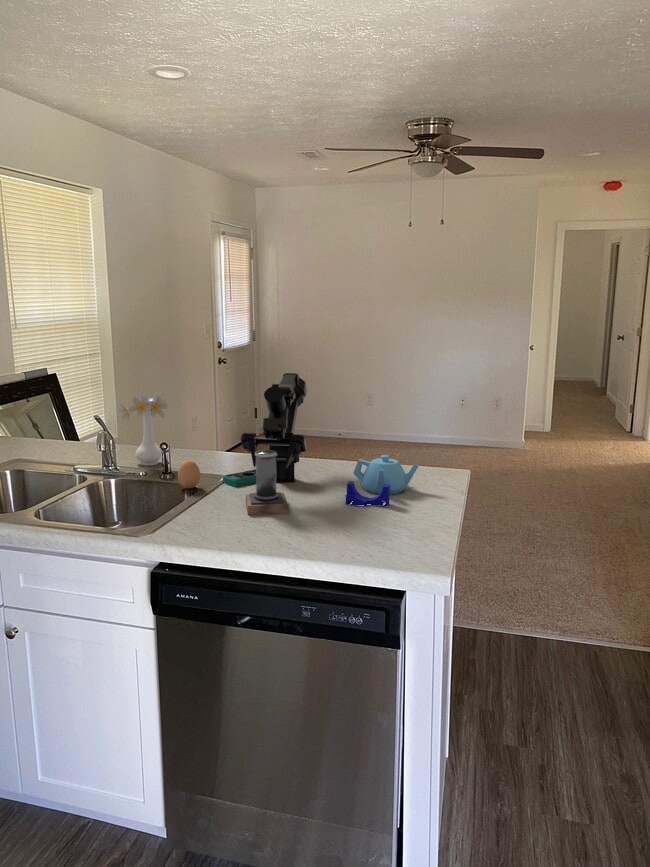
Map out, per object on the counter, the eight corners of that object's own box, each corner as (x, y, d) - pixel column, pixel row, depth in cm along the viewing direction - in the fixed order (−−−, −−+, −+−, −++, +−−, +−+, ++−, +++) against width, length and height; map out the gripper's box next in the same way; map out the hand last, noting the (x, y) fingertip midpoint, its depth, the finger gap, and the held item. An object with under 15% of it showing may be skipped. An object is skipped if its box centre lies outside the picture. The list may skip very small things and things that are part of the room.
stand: (283, 501, 195) (283, 491, 194) (287, 513, 184) (287, 502, 183) (245, 502, 193) (245, 492, 192) (247, 514, 182) (247, 504, 182)
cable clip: (345, 505, 192) (345, 485, 191) (348, 500, 197) (349, 480, 195) (386, 508, 189) (387, 488, 188) (389, 504, 194) (389, 484, 192)
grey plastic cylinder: (271, 492, 192) (271, 448, 190) (282, 498, 187) (282, 453, 184) (250, 495, 189) (249, 451, 186) (260, 502, 183) (260, 456, 181)
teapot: (388, 480, 219) (389, 447, 216) (419, 491, 206) (420, 457, 204) (350, 486, 210) (351, 453, 208) (380, 499, 198) (381, 463, 196)
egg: (176, 486, 208) (175, 458, 206) (198, 484, 210) (197, 456, 209) (180, 492, 202) (179, 463, 200) (202, 490, 204) (201, 461, 202)
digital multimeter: (273, 480, 217) (273, 471, 217) (234, 488, 208) (234, 479, 207) (259, 475, 223) (259, 467, 222) (221, 483, 213) (221, 474, 213)
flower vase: (114, 466, 230) (111, 394, 225) (156, 456, 245) (153, 388, 239) (140, 472, 223) (136, 398, 217) (181, 461, 237) (179, 392, 232)
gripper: (241, 405, 194) (232, 451, 186) (305, 407, 192) (299, 454, 184) (248, 426, 204) (240, 471, 195) (308, 428, 201) (303, 473, 193)
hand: (270, 467), depth 192 cm, fingers open, 9 cm apart
